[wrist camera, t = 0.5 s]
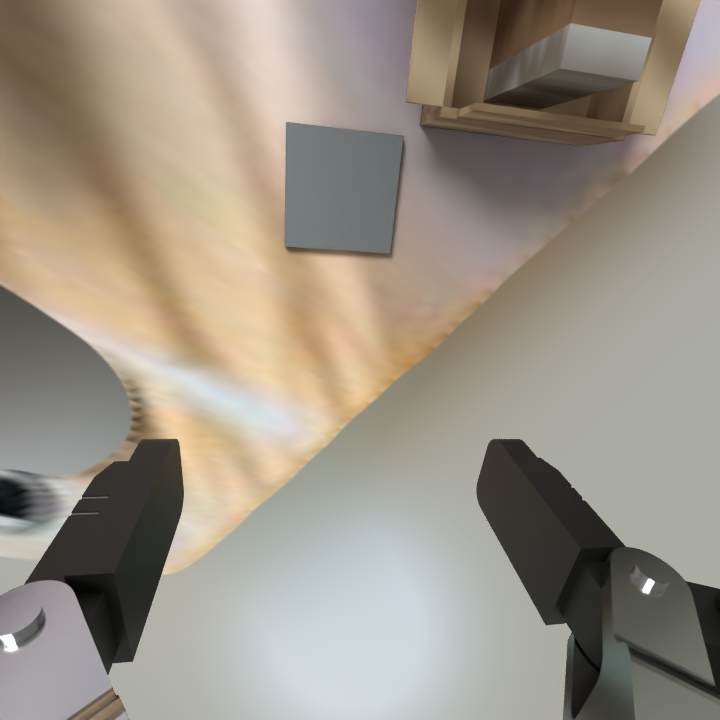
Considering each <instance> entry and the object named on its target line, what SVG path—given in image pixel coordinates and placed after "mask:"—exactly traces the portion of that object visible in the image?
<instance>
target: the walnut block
mask: <svg viewBox="0 0 720 720" xmlns="http://www.w3.org/2000/svg"><path fill="white" fill-rule="evenodd" d="M662 2H663V0H501V3H500V9H499V15H498V20H497V26H496V32H495V37H494V43H493V48H492V54H491V60H490V65H489V71H488V77H487V82H486V88H485V94H484V99H483V101H486V102H493V103H500V104H508V105H515V106H522V107H529V108H536V109H544V108H548V107H551V106H554V105H558V104H561V103H565V102H568V101H572V100H575V99H579V98H582V97H585V96H589V95H592V94H596V93H599V92H603V91H606V90H609V89H613V88H616V87H620V86H623V85H627V84H630V83H633V82H637V81H639V79H640V75H641V72H642V69H643V65H644V62H645V59H646V55H647V52H648V49H649V45H650V42H651V39H652V36H653V32H654V29H655V26H656V22H657V19H658V16H659V12H660V9H661V6H662Z"/></svg>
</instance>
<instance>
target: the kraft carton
mask: <svg viewBox="0 0 720 720" xmlns="http://www.w3.org/2000/svg"><path fill="white" fill-rule="evenodd" d="M700 1H701V0H663V2H662V6H661V9H660V12H659V16H658V19H657V22H656V26H655V29H654V32H653V36H652V39H651V42H650V45H649V49H648V52H647V55H646V59H645V62H644V65H643V69H642V72H641V75H640V79H639V81H637V82H633V83H630V84H627V85H623V86H620V87H616V88H613V89H609V90H606V91H603V92H599V93H596V94H592V95H589V96H585V97H582V98H579V99H575V100H572V101H568V102H565V103H561V104H558V105H554V106H551V107H548V108H544V109H536V108H529V107H522V106H515V105H508V104H500V103H493V102H486V101H483V99H484V94H485V88H486V82H487V77H488V71H489V65H490V60H491V54H492V48H493V43H494V37H495V32H496V26H497V20H498V15H499V9H500V3H501V0H417V5H416V14H415V23H414V32H413V41H412V50H411V58H410V67H409V76H408V85H407V94H406V103H414V104H421V105H423V108H422V116H421V124H420V126H425V127H433V128H441V129H449V130H457V131H465V132H473V133H481V134H489V135H497V136H505V137H513V138H521V139H529V140H537V141H545V142H553V143H561V144H569V145H577V146H583V145H591V144H599V143H607V142H615V141H623V140H624V138H625V135H631V134H645V135H652V136H653V135H656V134H657V131H658V127H659V124H660V121H661V118H662V115H663V112H664V109H665V106H666V103H667V100H668V97H669V94H670V91H671V88H672V85H673V82H674V79H675V76H676V73H677V70H678V67H679V64H680V61H681V58H682V55H683V52H684V49H685V46H686V43H687V40H688V37H689V34H690V31H691V28H692V25H693V22H694V19H695V16H696V13H697V10H698V7H699V4H700Z"/></svg>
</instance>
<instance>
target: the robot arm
mask: <svg viewBox="0 0 720 720" xmlns="http://www.w3.org/2000/svg"><path fill="white" fill-rule="evenodd" d="M183 498H184V487H183V477H182V467H181V456H180V446H179V442H178V440H177V439H142V440H141V441H140V442H139V444H138V446H137V448H136V449H135V451H134V453H133V455H132V456H131V458H130V460H129V461H115V462H113V463H112V464H111V465H109V466H108V467H107V468H106V469H104V470H103V471H102V472H100V473H99V474H98V475H97V476H95V477H94V478H93V480H92V482H91V483H90V485H89V486H88V488H87V489H86V491H85V492H84V494H83V495H82V499H81V500H79V501H78V503H77V505H76V506H75V508H74V509H73V511H72V514H71V516H69V517H68V518H67V520H66V521H65V523H64V524H63V526H62V527H61V529H60V531H59V532H58V534H57V535H56V537H55V538H54V540H53V541H52V543H51V544H50V546H49V547H48V549H47V550H46V552H45V554H44V555H43V557H42V558H41V560H40V561H39V563H38V564H37V566H36V567H35V569H34V570H33V572H32V574H31V575H30V577H29V578H28V580H27V581H26V582H25V584H24V585H22V586H19V587H17V588H15V589H12V590H10V591H8V592H6V593H4V594H3V595H1V596H0V720H129V717H128V715H127V713H126V710H125V708H124V706H123V704H122V701H121V699H120V697H119V696H118V695H117V696H116V694H115V692H114V690H113V688H112V685H111V683H110V680H109V678H108V674H109V671H110V669H111V666H112V663H121V662H132V661H133V659H134V656H135V653H136V650H137V647H138V644H139V641H140V638H141V635H142V632H143V629H144V626H145V623H146V619H147V617H148V613H149V611H150V608H151V605H152V601H153V598H154V595H155V592H156V589H157V586H158V583H159V580H160V577H161V574H162V571H163V568H164V565H165V562H166V559H167V556H168V553H169V550H170V547H171V544H172V541H173V538H174V534H175V531H176V528H177V525H178V522H179V519H180V516H181V512H182V507H183ZM477 498H478V502H479V505H480V507H481V509H482V511H483V513H484V515H485V516H486V518H487V520H488V522H489V524H490V526H491V527H492V529H493V531H494V533H495V534H496V536H497V538H498V540H499V542H500V543H501V545H502V547H503V549H504V550H505V552H506V554H507V556H508V558H509V560H510V561H511V563H512V565H513V567H514V569H515V570H516V572H517V574H518V576H519V577H520V579H521V581H522V583H523V585H524V586H525V588H526V590H527V592H528V594H529V595H530V597H531V599H532V601H533V603H534V605H535V606H536V608H537V610H538V612H539V613H540V615H541V617H542V619H543V621H544V623H545V624H546V625H552V624H563V623H567V625H568V626H569V628H570V629H571V631H572V633H571V635H570V637H569V639H568V644H567V660H566V676H565V695H564V709H563V720H720V589H717V588H713V587H709V586H704V585H700V584H696V583H691V582H687V581H685V580H684V579H683V578H682V577H681V576H680V574H679V573H677V572H676V571H675V570H674V569H673V568H672V567H671V566H670V565H668V564H667V563H666V562H664V561H662V560H661V559H659V558H658V557H656V556H654V555H652V554H650V553H648V552H645V551H643V550H640V549H636V548H631V547H626V546H625V545H624V544H623V543H622V542H621V541H620V540H619V538H617V536H616V535H615V534H614V533H613V532H612V531H611V529H610V528H609V527H608V526H607V525H606V524H605V523H604V522H603V520H602V519H601V518H600V517H599V516H598V515H597V514H596V512H595V511H594V510H593V509H592V508H591V507H590V506H589V505H588V503H587V502H586V501H583V500H582V497H581V495H579V493H578V492H577V491H576V490H575V489H574V488H571V484H570V483H569V482H568V481H567V480H566V479H565V478H564V476H563V475H562V474H561V473H560V472H559V471H558V470H557V469H556V468H554V467H553V466H551V465H549V464H548V463H547V462H545V461H544V460H543V459H541V458H537V457H536V455H535V454H534V453H533V452H532V451H531V450H530V449H529V447H528V446H527V445H526V444H525V443H524V442H523V441H522V440H520V439H493V440H491V441H490V443H489V444H488V447H487V451H486V454H485V458H484V461H483V465H482V468H481V472H480V475H479V479H478V482H477Z"/></svg>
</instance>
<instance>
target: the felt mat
mask: <svg viewBox="0 0 720 720" xmlns="http://www.w3.org/2000/svg"><path fill="white" fill-rule="evenodd" d="M402 145H403V136H399V135H391V134H383V133H374V132H366V131H357V130H349V129H341V128H332V127H324V126H315V125H307V124H299V123H290V122H286V181H285V247H300V248H315V249H329V250H344V251H359V252H374V253H389V254H390V250H391V241H392V232H393V224H394V215H395V206H396V197H397V188H398V180H399V171H400V162H401V153H402Z"/></svg>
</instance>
